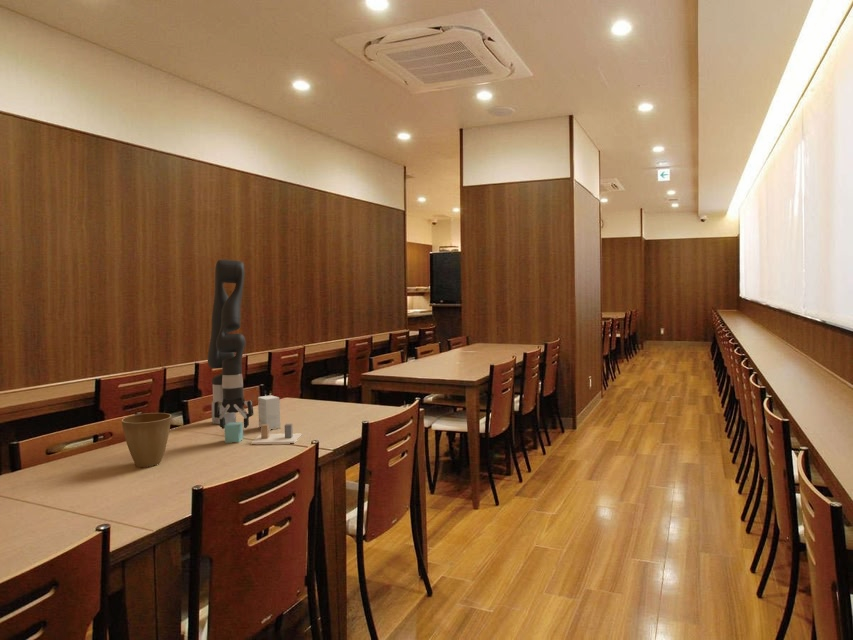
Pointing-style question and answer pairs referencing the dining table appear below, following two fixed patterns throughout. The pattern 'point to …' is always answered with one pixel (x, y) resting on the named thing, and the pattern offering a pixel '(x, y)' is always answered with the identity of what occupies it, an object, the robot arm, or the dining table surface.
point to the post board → (276, 436)
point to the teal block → (233, 432)
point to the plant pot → (147, 437)
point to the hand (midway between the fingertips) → (234, 428)
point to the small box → (269, 411)
